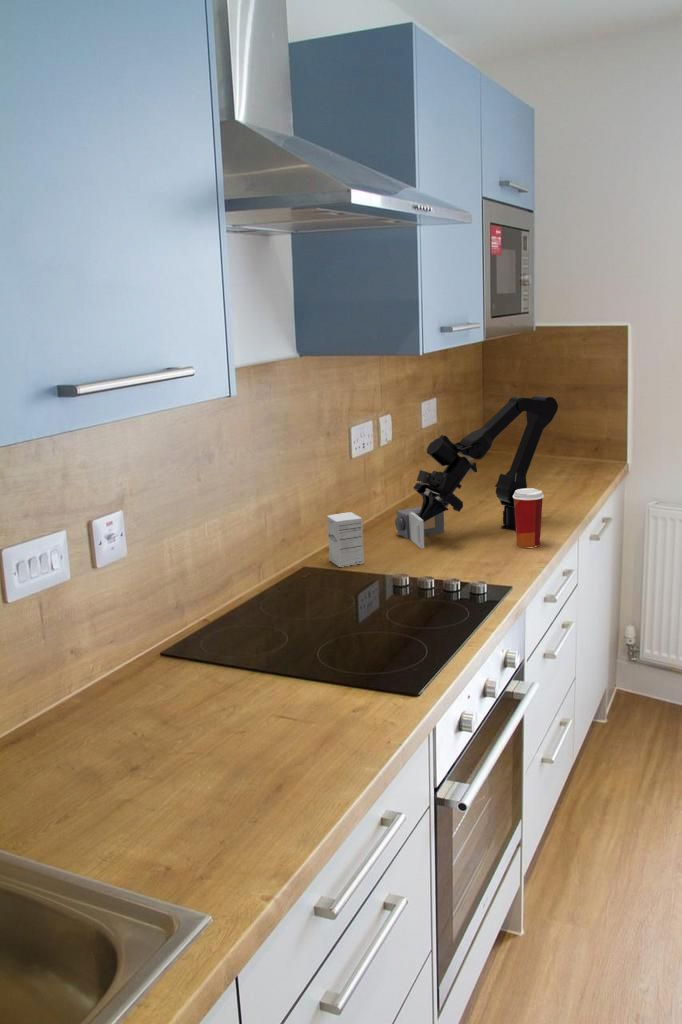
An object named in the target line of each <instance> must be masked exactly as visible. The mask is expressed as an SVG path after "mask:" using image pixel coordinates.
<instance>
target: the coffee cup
mask: <svg viewBox="0 0 682 1024" xmlns="http://www.w3.org/2000/svg"><path fill="white" fill-rule="evenodd" d="M544 497H545V495H544V494H543V491H542V490H540V489H537V488H532V487H531V488H528V487H527V488H525V489H518V490H515V493H514V495H513V498H514V508H515V524H516V530H515V534H516V535H515V536H516V545H517V547H518V546H519V547H518V548H521V547H535V546H538V545H539V544H540V543H541V530H542V516H543V514H542V513H543V498H544ZM539 546H540V545H539Z"/></svg>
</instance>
